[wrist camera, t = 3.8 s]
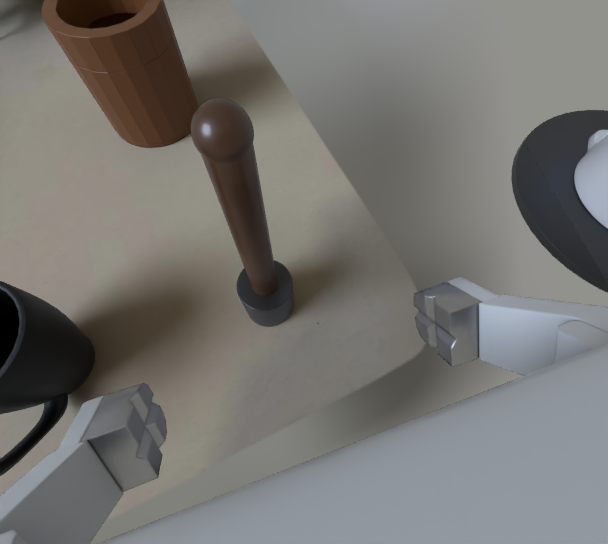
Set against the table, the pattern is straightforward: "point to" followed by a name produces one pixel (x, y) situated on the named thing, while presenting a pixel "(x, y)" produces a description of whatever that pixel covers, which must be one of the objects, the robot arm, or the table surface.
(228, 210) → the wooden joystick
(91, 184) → the table surface
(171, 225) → the table surface
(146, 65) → the wooden mortar
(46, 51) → the table surface
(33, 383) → the mug
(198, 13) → the table surface
